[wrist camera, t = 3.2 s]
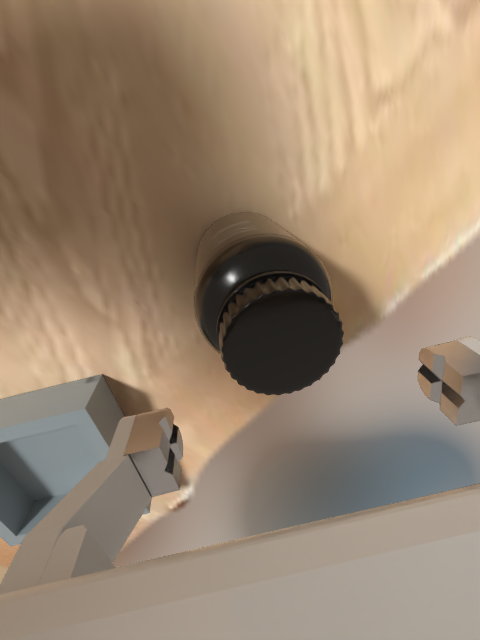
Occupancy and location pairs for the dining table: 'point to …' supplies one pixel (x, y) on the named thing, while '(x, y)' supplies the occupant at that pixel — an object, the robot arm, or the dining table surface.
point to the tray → (51, 448)
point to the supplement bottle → (265, 305)
